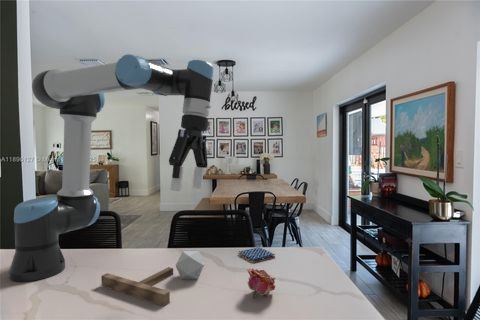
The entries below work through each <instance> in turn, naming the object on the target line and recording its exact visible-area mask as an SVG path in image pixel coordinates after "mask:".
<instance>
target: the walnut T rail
mask: <svg viewBox="0 0 480 320" xmlns="http://www.w3.org/2000/svg"><path fill="white" fill-rule="evenodd" d="M171 276H174V267H169V266H168V267H165V268H163V269H162V270H160V271H157V272H156V273H154V274H152V275H150V276H148V277H146V278H144V279H142V280H140V281H135V280H132V279H129V278H124V277H122V276H119V275H115V274H111V273H108V272H107V273H105V274H102V275H101V287H104V288H107V289H110V290H114V291H116V292H119V293H122V294H126V295H129V296H132V297H135V298H138V299H141V300H144V301H146V302H150V303H154V304H156V305H159V306H162V307H165V306H167V305H169V304H170V303H171V301H170V299H171V295H170V293H171V292H170V290H167V289H163V288H159V287H156V284H159V283H160V282H162V281H164V280H167V278H170V277H171ZM154 285H155V286H154Z"/></svg>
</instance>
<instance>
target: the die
mask: <svg viewBox="0 0 480 320" xmlns="http://www.w3.org/2000/svg"><path fill="white" fill-rule="evenodd" d="M204 266H205V263H204V261H203V258H202V255H201V253H200V251H199V250H192V251H191V250H187V251H186V250H183V251H182V252H181V254H180V255H179V257H178V260H177V262H176V263H175V267H176V270H177V273H178V275H179V277H180V280H199V278H200V276H201V274H202V272H203V268H204Z"/></svg>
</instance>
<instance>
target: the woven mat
mask: <svg viewBox="0 0 480 320" xmlns="http://www.w3.org/2000/svg"><path fill="white" fill-rule="evenodd" d="M275 254H276V253H273V252H271V251H268V250H267V249H265V248H262V247H260V246H258V247H257V246H256V247H252V248H249V249H245V250H244V249H243V250H241V251H240V250H239V251H238V256H239V257H240V258H242V259H245V260H246V261H248V262H249V263H252V264H254V263H258V262H262V261H267V260H270V259H274V258H276V256H275Z"/></svg>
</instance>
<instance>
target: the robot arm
mask: <svg viewBox="0 0 480 320" xmlns="http://www.w3.org/2000/svg"><path fill="white" fill-rule="evenodd" d="M213 81H214V67H213V64H211V63H210V62H209V61H206V60H202V59H192V60H189V61H188V63H187V67H186V68H185V69H173V68H169V67H166V66H164V65H161V64H158V63H157V62H152V61H150V60H149V59H147V58H145V57H142V56H139V55H135V54H128V53H127V54H124V55H122V56H121V57H120V58H119V59H118V60H117V61H116V62H111V63H107V64H100V65H99V64H98V65H94V66H87V67H82V68H77V69H69V70H61V69H49V70H44V71H41V72H39V73H38V74H37V75H36V76H35V77H33V80H32V82H31V90H32V94H33V96H34V97H35V98H36V100H37V101H38V102H39V103H41V104H42V105H44V106H45V107H48V108H51V109H57V110H59V116H60V117H61V119H63V121H64V122H63V125H64V126H63V127H64V128H63V151H62V153H63V154H62V181H61V182H62V185H61V189H59V190H58V191H57V192H56V197H55V196H44V197H36V198H31V199H28V200H25V201H23V202H21V203H18V204H17V205H16V206H15V208H14V212H13V213H14V215H13V222H14V223H13V225H14V246H15V251H14V255H13V258H12V261H11V265H10V267H9V270H8V273H9V274H8V276H9V277H8V278H9V279H10V281H13V282H32V281H33V282H34V281H38V280H43V279H46V278H49V277H53V276H55V275H58V274H59V273H61V272H63V271H64V270H65V269H66V259H65V256H64V254H63V252H62V249H61V247H60V245H59V243H60V242H59V235H62V234H65V233H68V232H71V231H76V230H80V229H85V228H86V227H89V226H91V225H92V224H94V223H96V221H97V219H99V216H100V213H101V204H100V202H99V199H98V198H97V196H95V195H94V191H93V189H92V188H90V173H91V172H90V171H91V152H92V151H91V148H92V147H91V146H92V124H93V122H94V121H95V120H96V119H97V116H98V115H97V114H98V113H100V112H101V111H102V110H103V109H104V107H105V106H104V105H105V93H115V92H121V91H128V90H131V91H132V90H138V89H141V90H147V91H151V92H152V93H153V95H157V96H163V97H168V96H183V97H184V98H183V103H182V105H183V106H182V111H181V112H182V116H181V123H180V127H181V128H182V129H181V128H179V129H178V131H177V137H176V140H175V143H174V146H173V147H172V151H171V153H170V156H169V159H168V163H169V166H173V167H172V175H171V183H170V191H174V192H182V185H183V175H184V169H185V168H184V166H183V165H184V162H185V161H186V159H187V156H188V154H189V153H190V151H191V150H192V152H193V153H192V154H193V157H194V161H195V165H196V166H194V171H193V172H194V173H193V180H192V188H193V189H198V190H202V189H203V188H202V187H203V177H204V168H205V169H207V168H208V153H207V150H208V149H207V135H204V134H203V133H202V132H206V131H207V130H208V126H209V125H208V124H209V119H208V117H209V114H210V109H211V108H212V106H211V95H212V90H213V89H212V88H213V87H212V86H213Z"/></svg>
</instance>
